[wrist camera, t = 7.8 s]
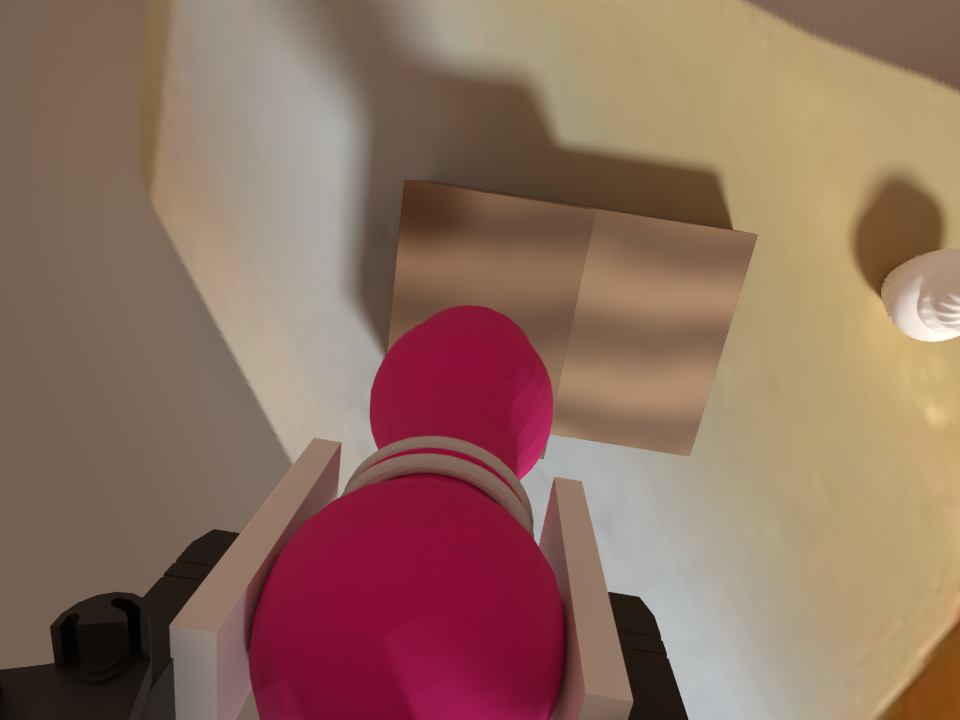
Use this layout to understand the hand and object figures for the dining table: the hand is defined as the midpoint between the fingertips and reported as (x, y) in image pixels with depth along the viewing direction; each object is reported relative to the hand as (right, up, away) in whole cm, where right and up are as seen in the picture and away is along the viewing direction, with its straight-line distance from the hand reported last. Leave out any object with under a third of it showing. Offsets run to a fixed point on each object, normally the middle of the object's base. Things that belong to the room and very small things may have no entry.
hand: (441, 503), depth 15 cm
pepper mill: (+1, +4, +11) cm, 12 cm away
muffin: (+32, +9, +24) cm, 41 cm away
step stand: (+7, +7, +26) cm, 28 cm away
